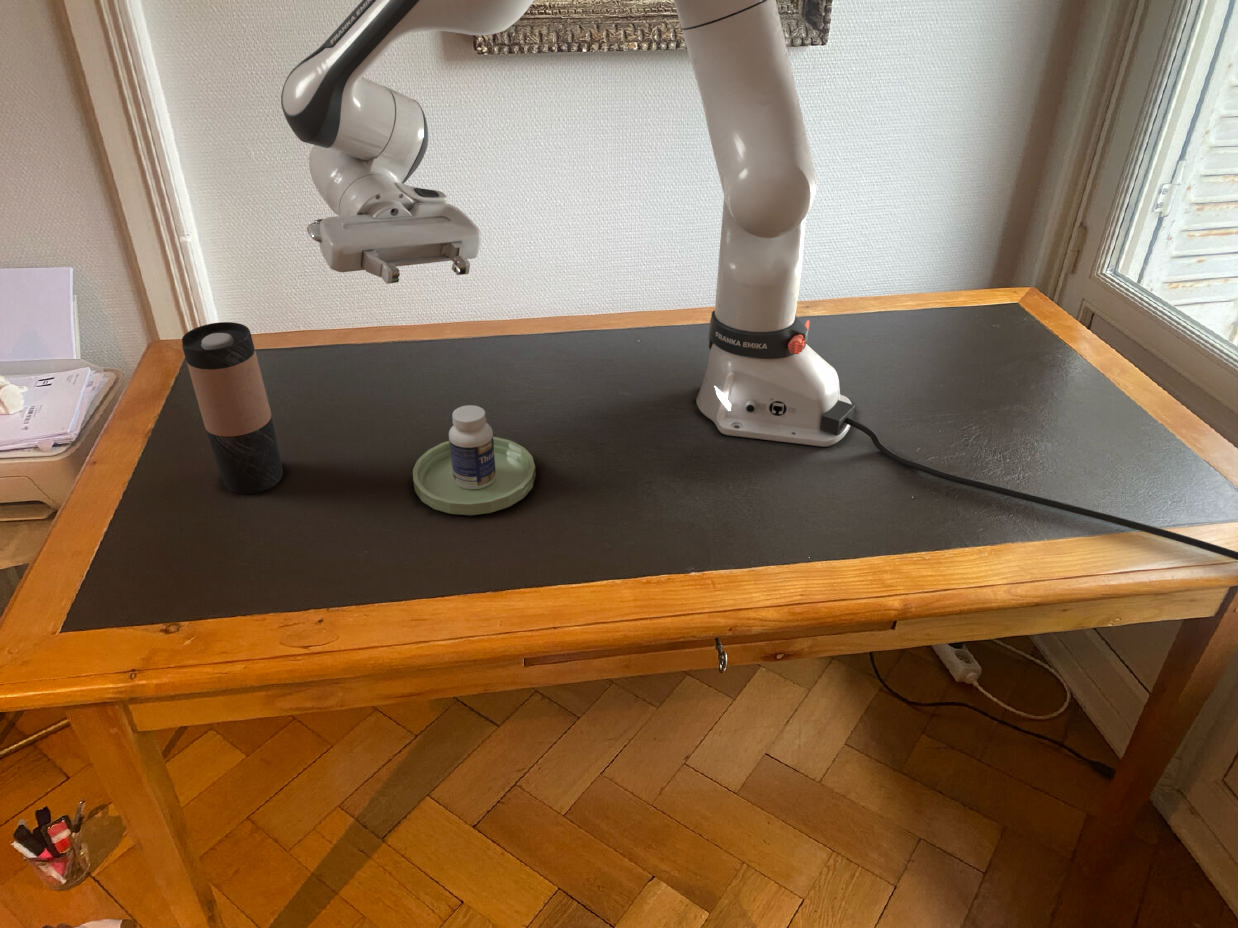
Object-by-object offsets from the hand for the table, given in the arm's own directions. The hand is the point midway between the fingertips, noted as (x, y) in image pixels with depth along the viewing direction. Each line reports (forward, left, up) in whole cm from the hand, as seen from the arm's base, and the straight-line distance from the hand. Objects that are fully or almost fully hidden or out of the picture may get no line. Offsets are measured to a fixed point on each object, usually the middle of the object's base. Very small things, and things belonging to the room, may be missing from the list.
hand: (430, 274), depth 107 cm
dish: (-8, +7, -24) cm, 26 cm away
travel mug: (+18, +18, -24) cm, 35 cm away
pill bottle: (-8, +7, -24) cm, 26 cm away
